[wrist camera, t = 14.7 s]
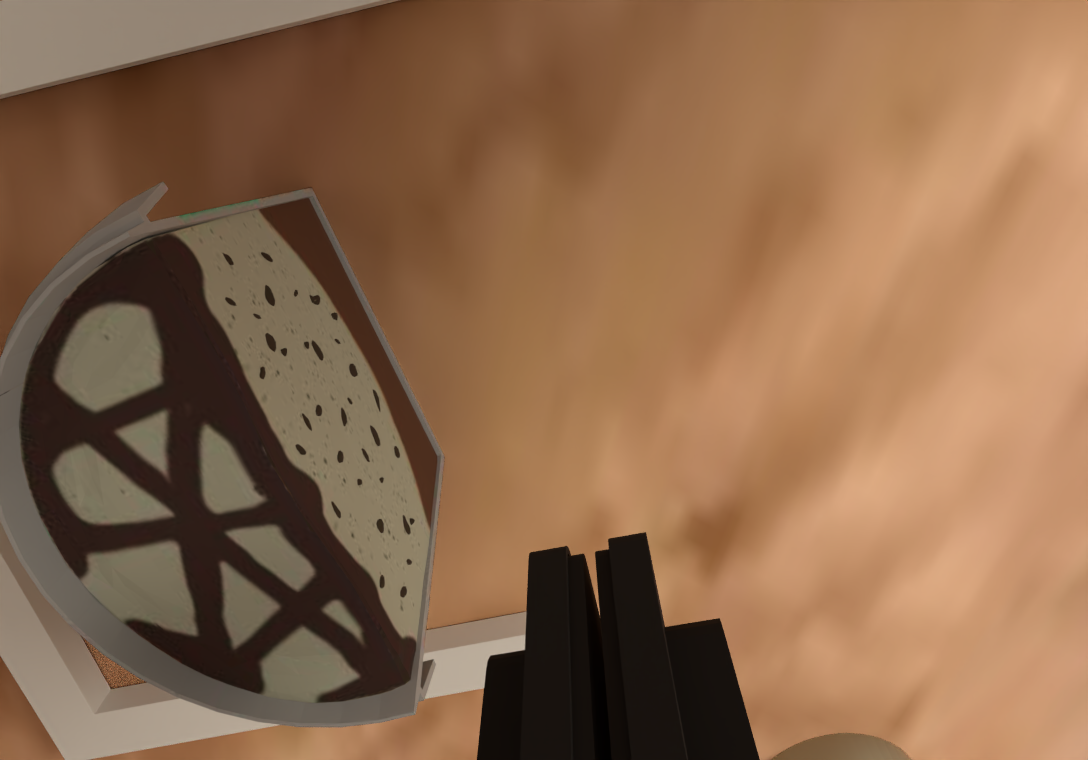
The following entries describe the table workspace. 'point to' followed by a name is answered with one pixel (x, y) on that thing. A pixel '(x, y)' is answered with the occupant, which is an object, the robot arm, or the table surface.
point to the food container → (224, 464)
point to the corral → (3, 584)
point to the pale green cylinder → (844, 749)
